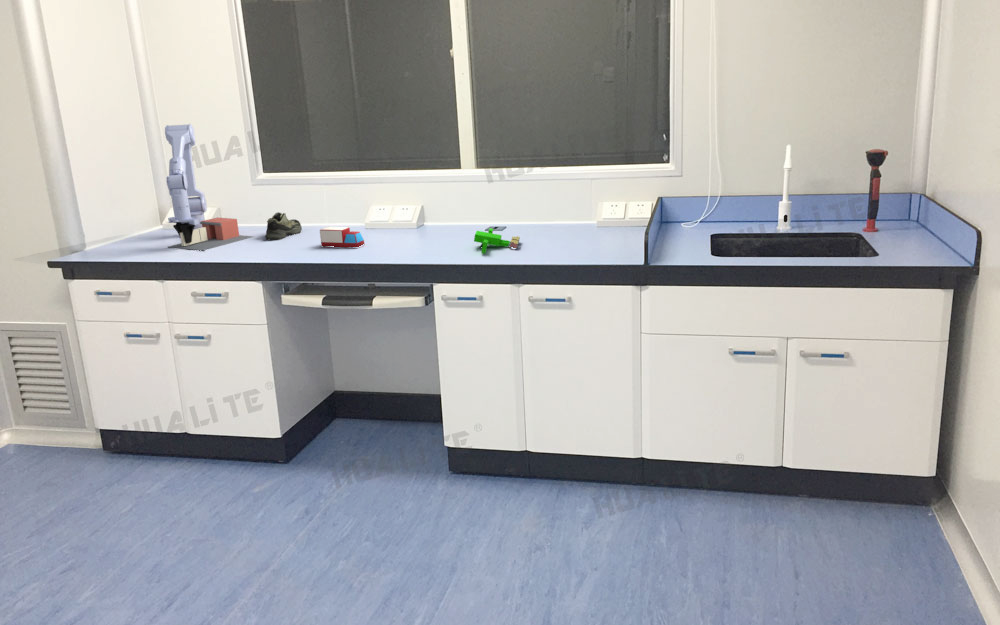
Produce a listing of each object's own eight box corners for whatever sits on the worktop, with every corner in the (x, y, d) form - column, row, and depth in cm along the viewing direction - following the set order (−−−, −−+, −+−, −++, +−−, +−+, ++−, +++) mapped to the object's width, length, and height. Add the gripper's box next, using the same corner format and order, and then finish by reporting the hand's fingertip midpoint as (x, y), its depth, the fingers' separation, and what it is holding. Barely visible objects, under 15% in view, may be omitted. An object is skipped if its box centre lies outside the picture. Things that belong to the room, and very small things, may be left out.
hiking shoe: (307, 229, 331) (304, 207, 328) (282, 241, 311) (279, 216, 308) (288, 230, 333) (285, 207, 330) (262, 241, 313) (259, 217, 310)
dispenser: (202, 238, 321) (199, 221, 319) (219, 234, 328) (217, 217, 326) (222, 240, 315) (219, 223, 313) (239, 235, 323) (237, 218, 321)
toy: (518, 247, 293) (477, 239, 293) (520, 233, 291) (479, 226, 292) (513, 262, 271) (469, 254, 272) (516, 248, 270) (471, 239, 270)
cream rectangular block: (181, 245, 307) (179, 232, 306) (205, 239, 316) (203, 227, 315) (184, 246, 306) (182, 233, 305) (207, 240, 315) (205, 227, 314)
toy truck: (357, 249, 291) (355, 230, 289) (321, 247, 297) (319, 229, 295) (364, 245, 296) (363, 227, 294) (329, 244, 302) (327, 226, 300)
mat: (167, 247, 309) (167, 246, 309) (219, 234, 330) (219, 233, 330) (203, 251, 299) (203, 250, 299) (254, 237, 320) (254, 236, 320)
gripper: (159, 207, 305) (165, 243, 308) (185, 209, 297) (191, 246, 301) (174, 204, 310) (180, 239, 314) (201, 206, 303) (206, 242, 307)
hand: (187, 242), depth 308 cm, fingers closed on cream rectangular block
